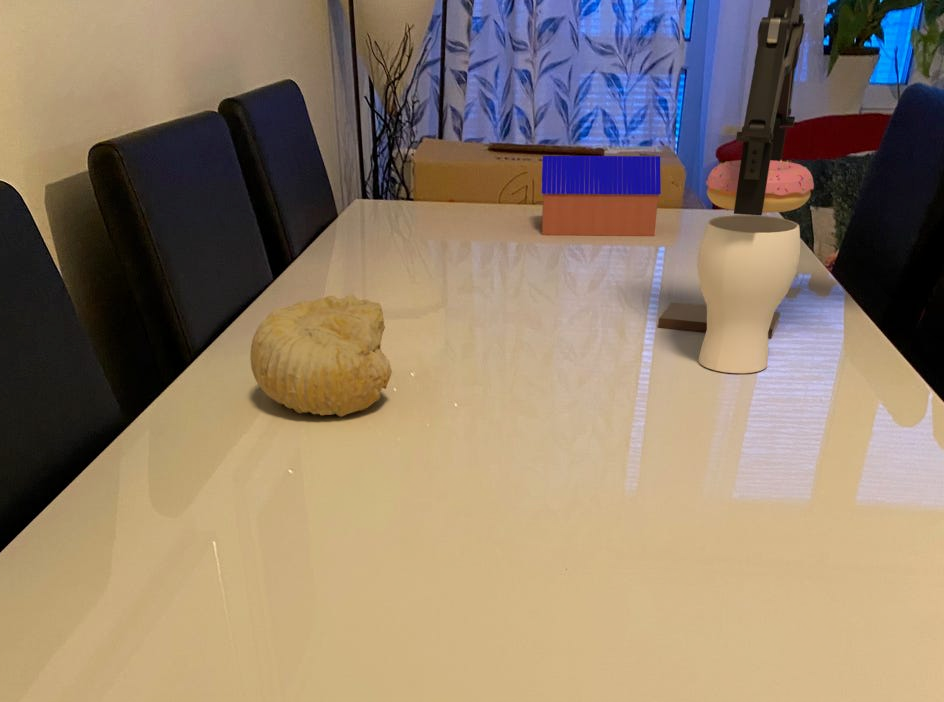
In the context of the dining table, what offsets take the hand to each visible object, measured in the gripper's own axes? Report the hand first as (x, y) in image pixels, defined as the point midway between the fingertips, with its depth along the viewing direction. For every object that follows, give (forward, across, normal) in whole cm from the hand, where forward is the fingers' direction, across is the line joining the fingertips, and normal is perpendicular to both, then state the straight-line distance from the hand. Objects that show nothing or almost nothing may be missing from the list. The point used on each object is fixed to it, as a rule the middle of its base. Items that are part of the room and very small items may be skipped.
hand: (755, 203), depth 104 cm
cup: (+17, 0, 0) cm, 17 cm away
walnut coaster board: (+17, -15, -4) cm, 23 cm away
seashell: (+17, +26, -38) cm, 49 cm away
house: (+17, -67, -34) cm, 77 cm away
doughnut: (0, 0, 0) cm, 0 cm away
